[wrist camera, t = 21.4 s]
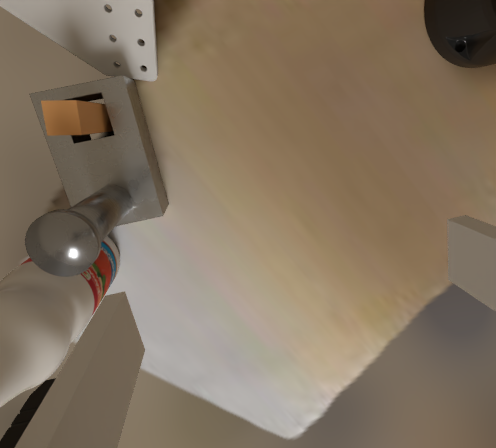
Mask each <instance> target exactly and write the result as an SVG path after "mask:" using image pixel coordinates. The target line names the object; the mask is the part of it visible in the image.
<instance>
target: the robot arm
mask: <svg viewBox="0 0 496 448" xmlns="http://www.w3.org/2000/svg"><path fill="white" fill-rule="evenodd" d="M425 22H426V28H427V32H428V35H429V38H430V40H431V42H432V44H433V46H434V47H435V49H436V50H437V52H438V53H439V54H440V55H441V56H442V57H443V58H444V59H446V60H447V61H449V62H450V63H452V64H454V65H457V66H460V67H466V68H476V67H482V66H487V65H492V64H496V0H426V2H425ZM448 280H450V281H451V282H453V283H454V284H456V285H457V286H459V287H460V288H462V289H463V290H464V291H466V292H467V293H469V294H470V295H472V296H473V297H475V298H476V299H478V300H479V301H481V302H482V303H484V304H485V305H487V306H488V307H490V308H491V309H493V310H494V311H496V226H493V225H490V224H488V223H485V222H482V221H480V220H477V219H474V218H472V217H469V216H466V215H464V216H460V217H455V218H451V219H448ZM144 352H145V348H144V345H143V343H142V340H141V337H140V334H139V331H138V328H137V325H136V322H135V319H134V317H133V314H132V311H131V308H130V305H129V302H128V299H127V296H126V293H125V292H121V293H116V294H112V295H107V296H105V297H104V299H103V300H102V302H101V304H100V306H99V307H98V309H97V311H96V312H95V314H94V316H93V317H92V319H91V321H90V322H89V324H88V326H87V327H86V329H85V331H84V332H83V334H82V336H81V337H80V339H79V341H78V342H77V344H76V346H75V347H74V349H73V351H72V352H71V354H70V356H69V357H68V359H67V361H66V363H65V364H64V366H63V367H62V369H61V371H60V373H59V374H58V376H57V378H55V379H50V380H46V381H45V382H44V383H43V384H42V385H41V386H39V387H38V388H37V389H36V390H35V391H34V392H33V393H32V394H31V395H30V396H29V398H28V399H27V401H26V402H25V404H24V405H23V407H22V409H21V410H20V414H18V415H17V416H16V418H15V419H14V421H13V422H12V424H11V427H10V428H9V429H8V430H7V431H6V433H5V435H4V436H3V438H2V439H1V441H0V448H117V447H118V443H119V440H120V436H121V433H122V429H123V426H124V422H125V419H126V415H127V411H128V408H129V404H130V400H131V397H132V394H133V390H134V387H135V383H136V379H137V376H138V373H139V369H140V366H141V362H142V359H143V355H144Z"/></svg>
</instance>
